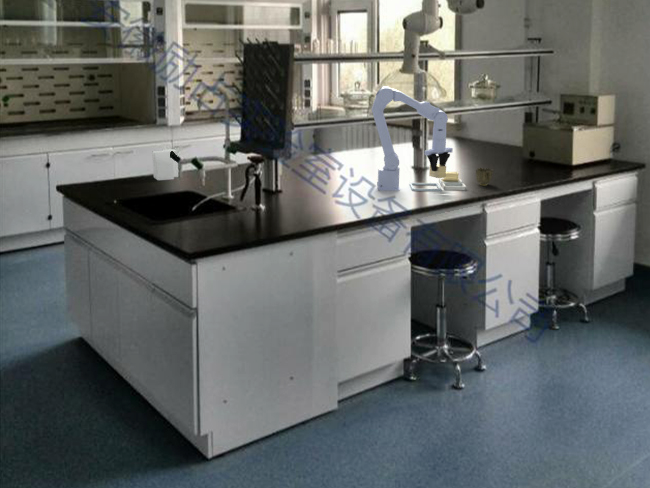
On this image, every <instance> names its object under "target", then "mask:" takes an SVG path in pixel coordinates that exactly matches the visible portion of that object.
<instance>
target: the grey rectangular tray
mask: <svg viewBox="0 0 650 488" xmlns="http://www.w3.org/2000/svg"><path fill="white" fill-rule="evenodd" d="M438 184H439V186H440V187H441V189H442V190H444V191H467V186H466V184H465V183H464V182H463V180H462V179H461V178H458V182H443V178H438Z"/></svg>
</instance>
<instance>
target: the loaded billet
mask: <svg viewBox="0 0 650 488" xmlns="http://www.w3.org/2000/svg"><path fill="white" fill-rule="evenodd" d="M459 175H460V174H459V173H458V171H446V177H445V178H443V182H458V179H459Z"/></svg>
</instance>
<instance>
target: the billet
mask: <svg viewBox="0 0 650 488" xmlns="http://www.w3.org/2000/svg"><path fill="white" fill-rule="evenodd" d="M446 172H447V165H445V166H444V165H440V164H439V163H437V169H436V171H432V169H431V164H430V165H429V175H428V176H429V177H431V178H436V179H439V178H445V177H446Z"/></svg>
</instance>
